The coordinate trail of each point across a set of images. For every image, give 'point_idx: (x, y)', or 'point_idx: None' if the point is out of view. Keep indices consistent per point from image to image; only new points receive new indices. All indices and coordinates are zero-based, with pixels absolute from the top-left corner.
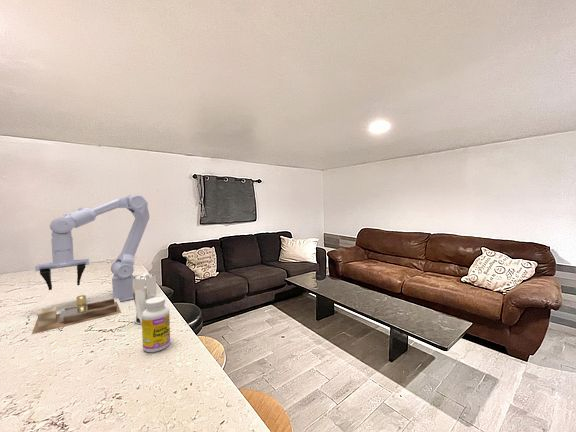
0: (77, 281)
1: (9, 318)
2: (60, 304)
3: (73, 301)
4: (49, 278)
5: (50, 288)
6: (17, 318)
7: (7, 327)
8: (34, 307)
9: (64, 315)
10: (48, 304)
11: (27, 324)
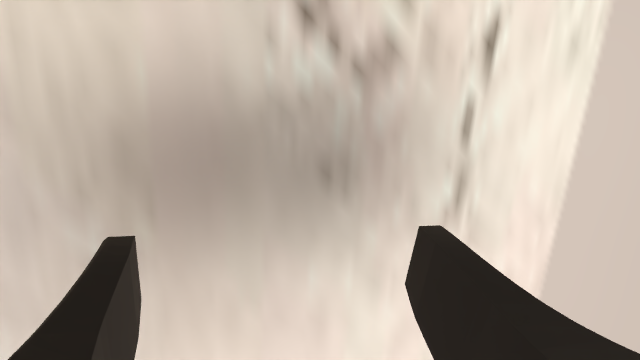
0: (118, 268)
1: (535, 232)
2: (284, 316)
3: (207, 330)
4: (522, 328)
5: (437, 233)
6: (509, 201)
7: (585, 54)
8: (410, 343)
9: None
10: (344, 354)
11: (495, 13)
